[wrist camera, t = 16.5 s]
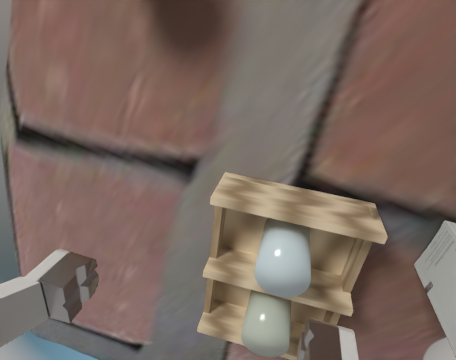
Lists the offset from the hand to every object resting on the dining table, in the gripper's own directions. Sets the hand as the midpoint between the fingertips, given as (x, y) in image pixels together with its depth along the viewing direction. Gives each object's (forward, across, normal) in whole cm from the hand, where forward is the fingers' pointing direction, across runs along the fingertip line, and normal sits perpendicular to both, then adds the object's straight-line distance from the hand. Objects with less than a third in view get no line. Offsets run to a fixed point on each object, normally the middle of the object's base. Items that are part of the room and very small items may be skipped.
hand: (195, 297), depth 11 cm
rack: (+29, -5, +22) cm, 37 cm away
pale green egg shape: (+28, -5, +28) cm, 40 cm away
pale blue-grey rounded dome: (+28, -5, +16) cm, 33 cm away
